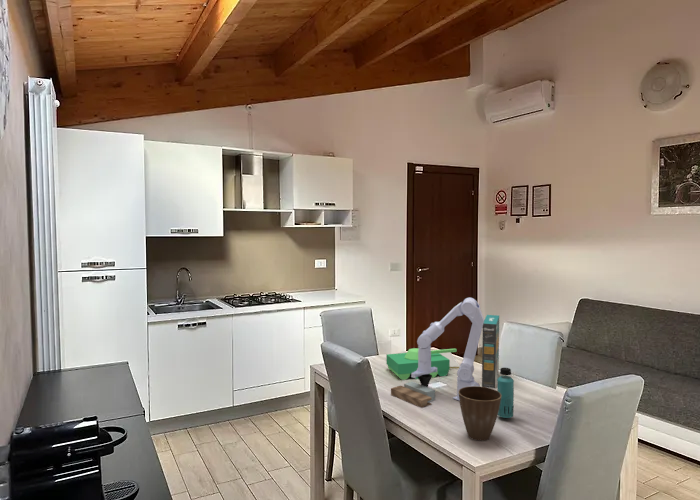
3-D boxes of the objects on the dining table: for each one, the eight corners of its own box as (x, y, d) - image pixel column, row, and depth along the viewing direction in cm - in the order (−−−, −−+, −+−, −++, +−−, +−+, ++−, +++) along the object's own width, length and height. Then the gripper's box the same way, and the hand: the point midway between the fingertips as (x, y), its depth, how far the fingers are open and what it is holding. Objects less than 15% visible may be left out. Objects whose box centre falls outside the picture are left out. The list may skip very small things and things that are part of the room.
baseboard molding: (437, 369, 260) (460, 369, 260) (437, 364, 259) (460, 364, 259) (429, 353, 291) (449, 353, 290) (429, 348, 290) (449, 348, 290)
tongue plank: (434, 399, 215) (434, 389, 214) (424, 403, 211) (424, 393, 210) (412, 391, 226) (412, 381, 225) (401, 394, 222) (401, 384, 222)
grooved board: (431, 404, 209) (431, 397, 209) (421, 407, 206) (421, 400, 206) (400, 391, 224) (400, 385, 224) (390, 394, 221) (390, 388, 221)
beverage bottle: (502, 422, 190) (503, 371, 189) (493, 416, 197) (493, 366, 195) (517, 420, 192) (518, 370, 191) (507, 414, 198) (508, 365, 197)
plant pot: (480, 424, 189) (480, 383, 188) (509, 439, 176) (510, 395, 174) (449, 432, 182) (449, 390, 181) (478, 449, 168) (478, 403, 167)
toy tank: (463, 351, 248) (398, 356, 239) (463, 375, 249) (398, 381, 240) (448, 342, 265) (386, 347, 256) (447, 365, 266) (386, 370, 257)
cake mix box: (486, 373, 251) (486, 314, 250) (498, 374, 249) (499, 315, 247) (481, 386, 231) (482, 323, 229) (495, 388, 229) (496, 324, 227)
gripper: (429, 355, 228) (429, 384, 228) (406, 361, 219) (406, 391, 220) (440, 359, 222) (440, 388, 223) (417, 365, 213) (417, 395, 214)
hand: (424, 390), depth 221 cm, fingers closed
